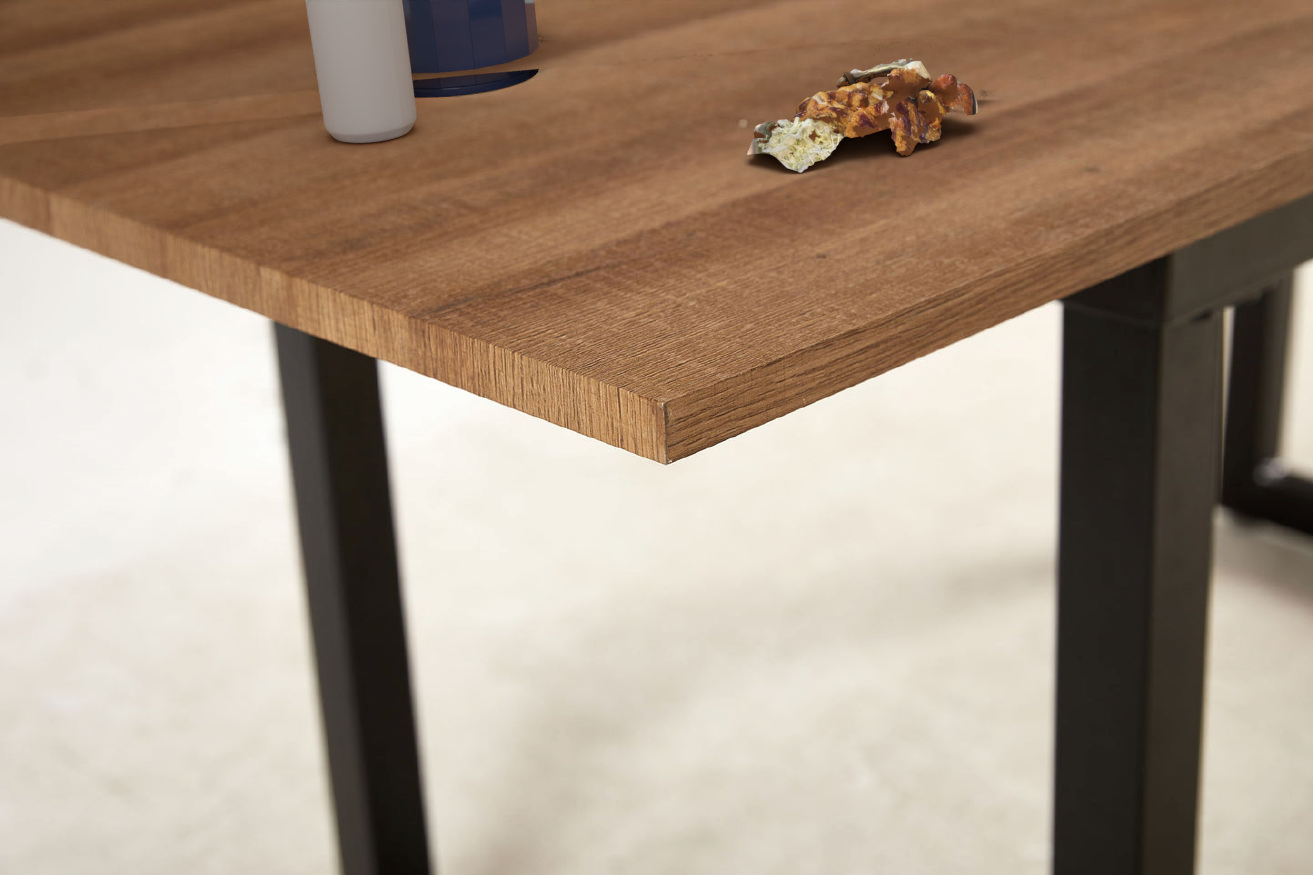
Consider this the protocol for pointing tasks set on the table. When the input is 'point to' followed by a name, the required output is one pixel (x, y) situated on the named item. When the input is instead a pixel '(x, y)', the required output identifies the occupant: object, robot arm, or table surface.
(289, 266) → the table surface
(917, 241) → the table surface
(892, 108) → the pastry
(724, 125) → the table surface
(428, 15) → the pot
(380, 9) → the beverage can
